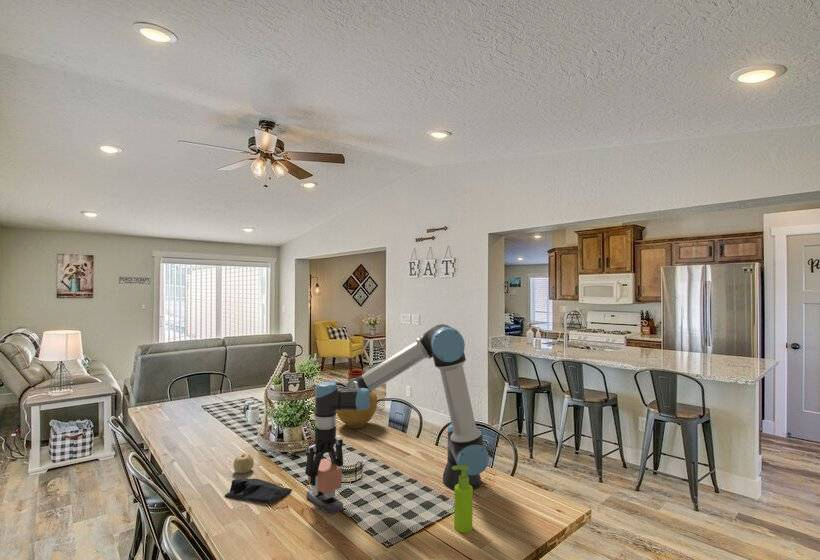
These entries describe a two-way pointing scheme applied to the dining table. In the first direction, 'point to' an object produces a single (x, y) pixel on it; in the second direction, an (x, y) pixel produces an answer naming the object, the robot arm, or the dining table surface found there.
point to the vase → (358, 416)
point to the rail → (325, 502)
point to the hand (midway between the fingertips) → (324, 490)
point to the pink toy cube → (328, 478)
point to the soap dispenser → (463, 501)
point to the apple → (243, 463)
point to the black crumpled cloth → (256, 490)
